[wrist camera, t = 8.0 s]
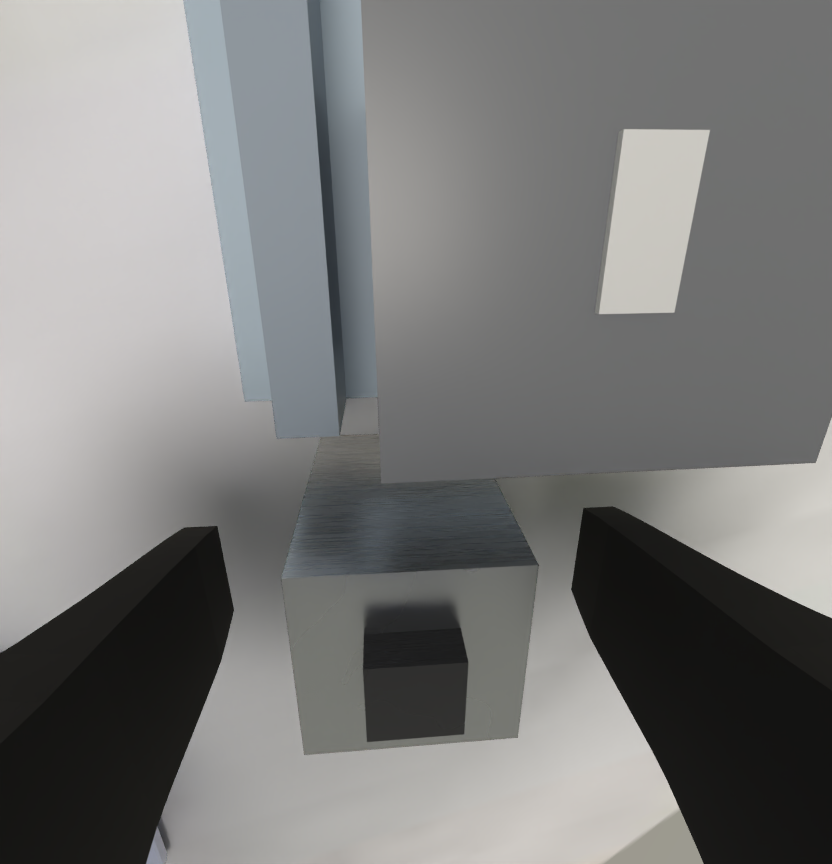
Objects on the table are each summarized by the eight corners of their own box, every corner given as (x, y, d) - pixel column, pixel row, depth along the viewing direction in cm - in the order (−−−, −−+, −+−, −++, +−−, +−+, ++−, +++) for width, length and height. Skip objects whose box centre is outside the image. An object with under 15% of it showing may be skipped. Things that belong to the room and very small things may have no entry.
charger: (577, 343, 9) (823, 466, 4) (377, 348, 9) (381, 487, 4) (605, 107, 8) (1039, -146, 3) (367, 103, 8) (352, -186, 2)
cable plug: (464, 553, 12) (528, 775, 7) (331, 560, 12) (299, 796, 7) (469, 430, 11) (553, 594, 6) (321, 435, 11) (271, 611, 6)
